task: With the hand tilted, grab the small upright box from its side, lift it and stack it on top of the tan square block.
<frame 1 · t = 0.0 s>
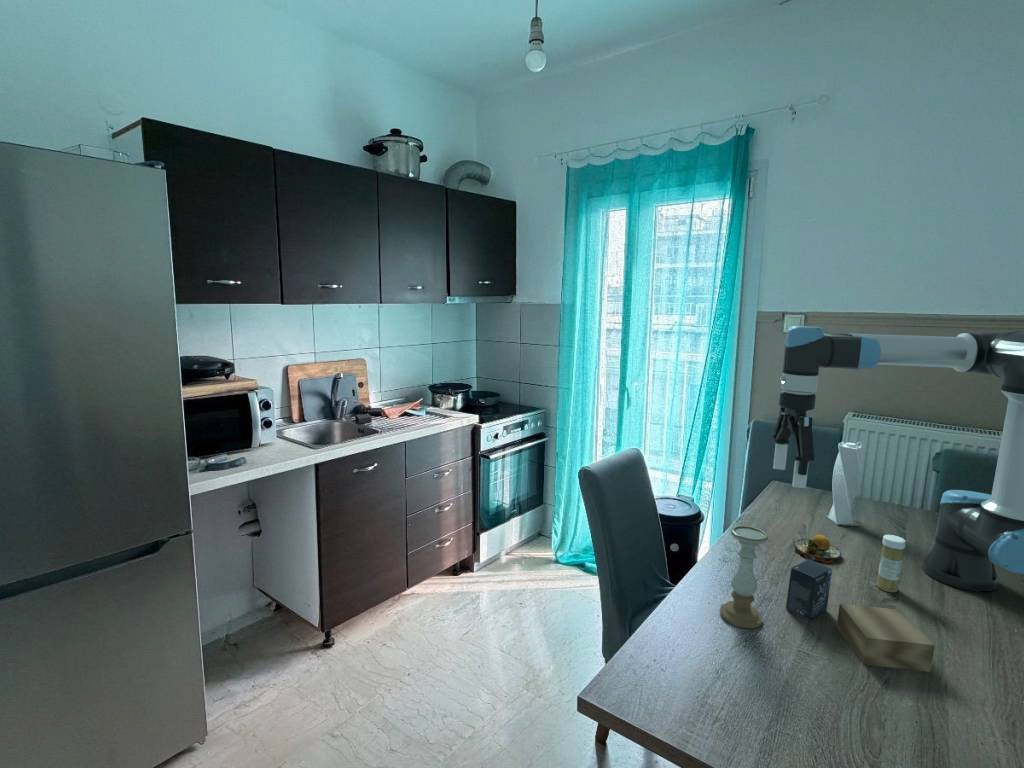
hand: (788, 477, 130), 28 cm above the table, tool pointing down, fingers open, 13 cm apart
candle holder: (740, 618, 120), on the table
sprinkles bottle: (886, 589, 134), on the table
box: (806, 610, 123), on the table
burger: (816, 554, 152), on the table
tan square block: (880, 649, 110), on the table
skyscraper: (841, 522, 174), on the table
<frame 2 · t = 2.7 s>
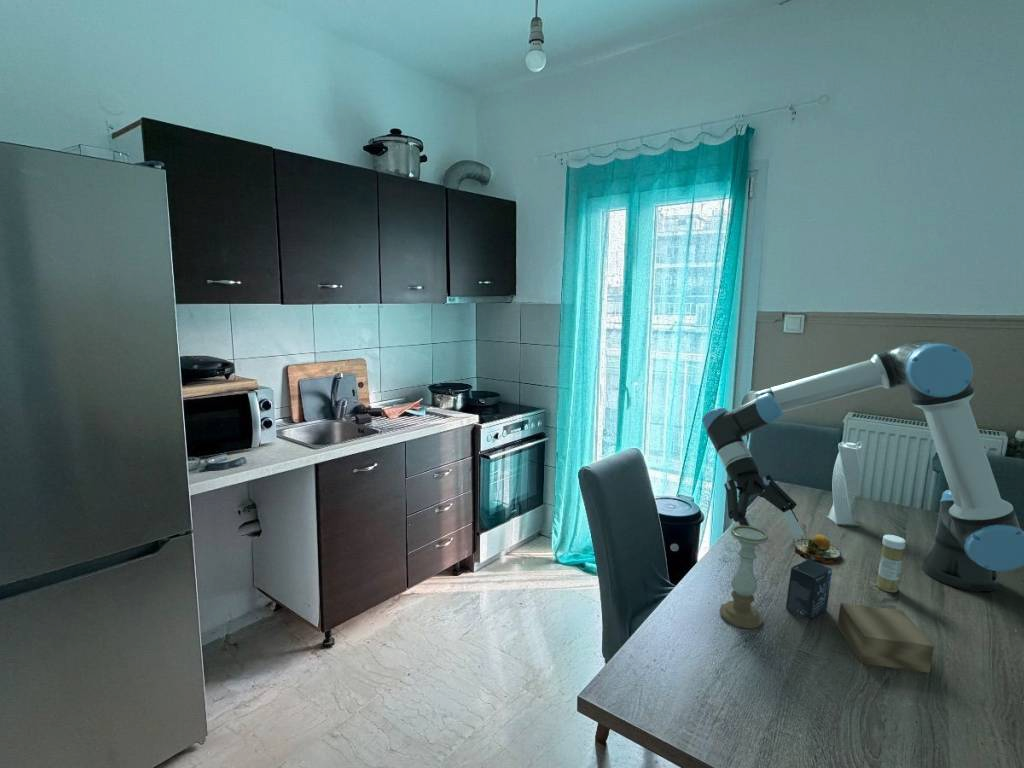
hand: (778, 540, 129), 13 cm above the table, tool tilted 45°, fingers open, 13 cm apart
nothing on the table moved.
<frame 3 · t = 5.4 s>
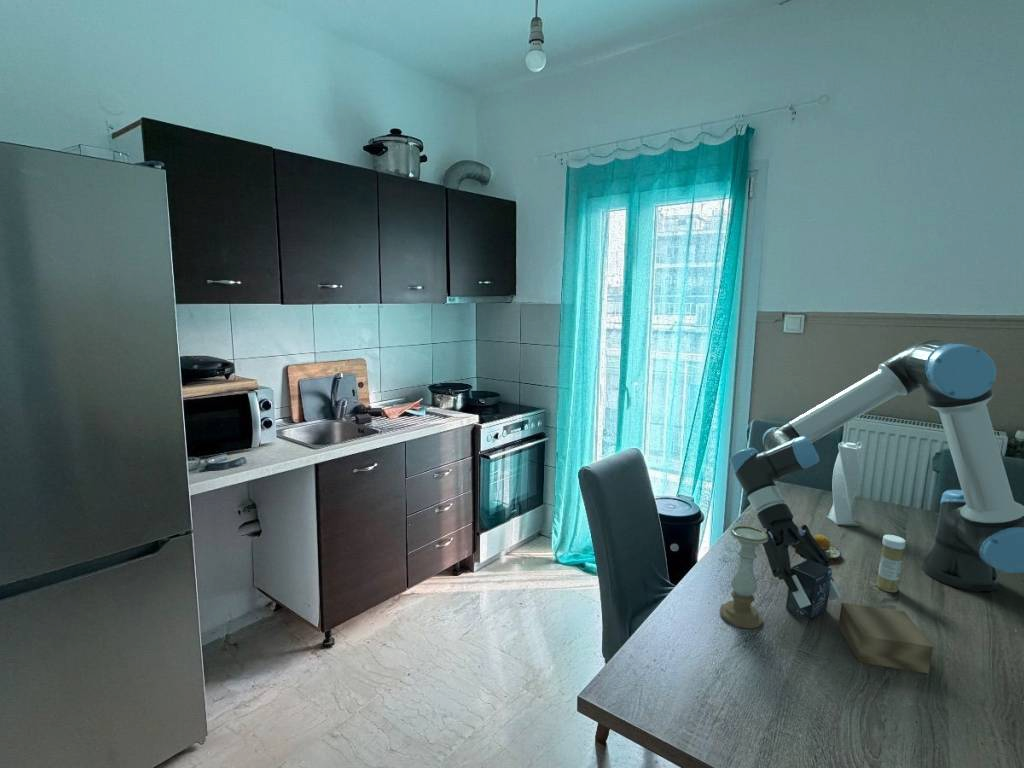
hand: (820, 602, 120), 4 cm above the table, tool tilted 45°, fingers closed on box, 9 cm apart
box: (806, 610, 123), on the table, touching gripper
everything else where it was.
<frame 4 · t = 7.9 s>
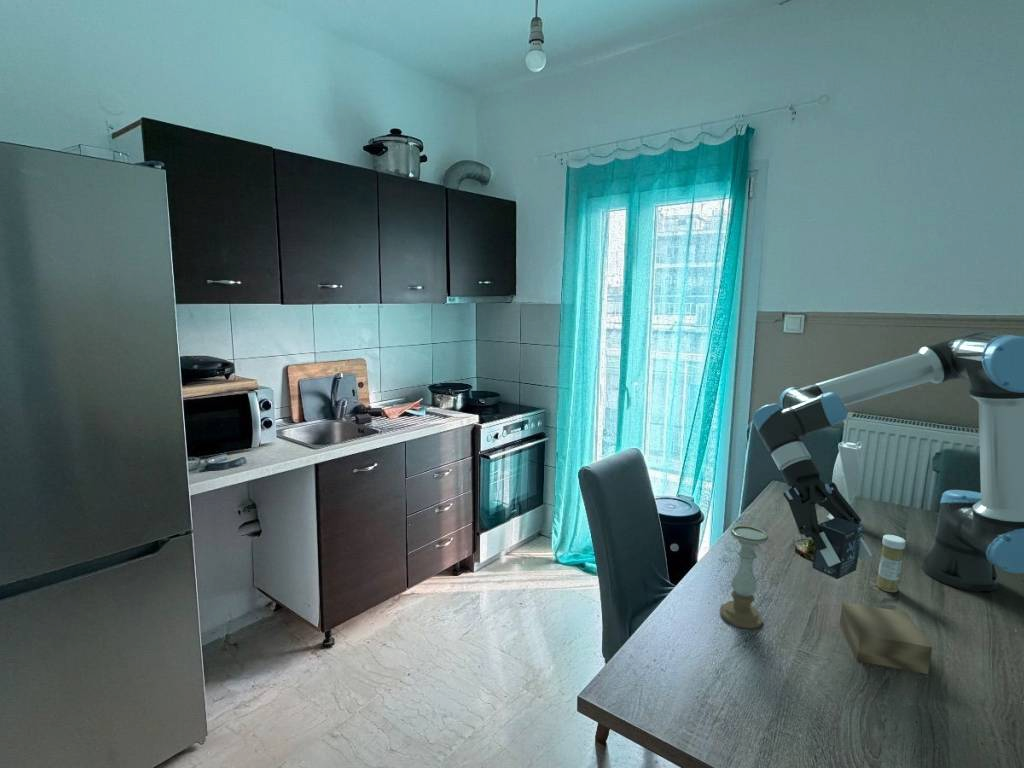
hand: (850, 560, 113), 16 cm above the table, tool tilted 45°, fingers closed on box, 9 cm apart
box: (834, 570, 117), point 12 cm above the table, touching gripper
everything else where it was.
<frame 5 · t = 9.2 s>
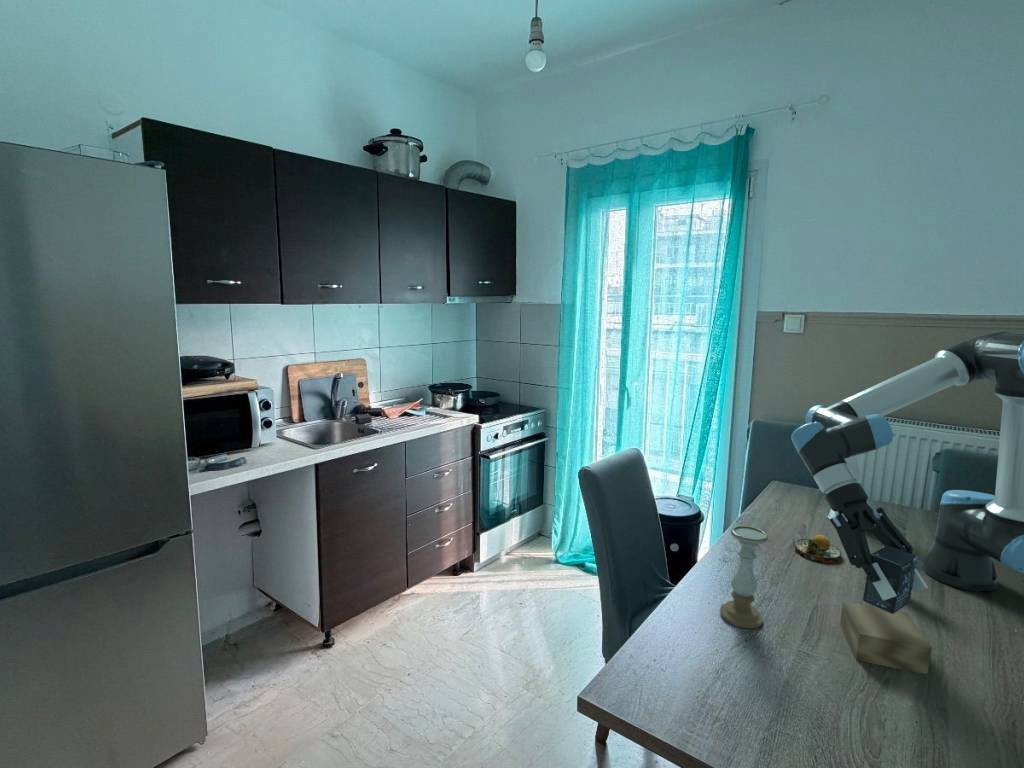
hand: (905, 594, 105), 14 cm above the table, tool tilted 45°, fingers closed on box, 9 cm apart
box: (886, 603, 109), point 10 cm above the table, touching gripper
everything else where it was.
when the fingers open (11 cm above the table, at t = 10.2 s): box drops 2 cm, resting on tan square block.
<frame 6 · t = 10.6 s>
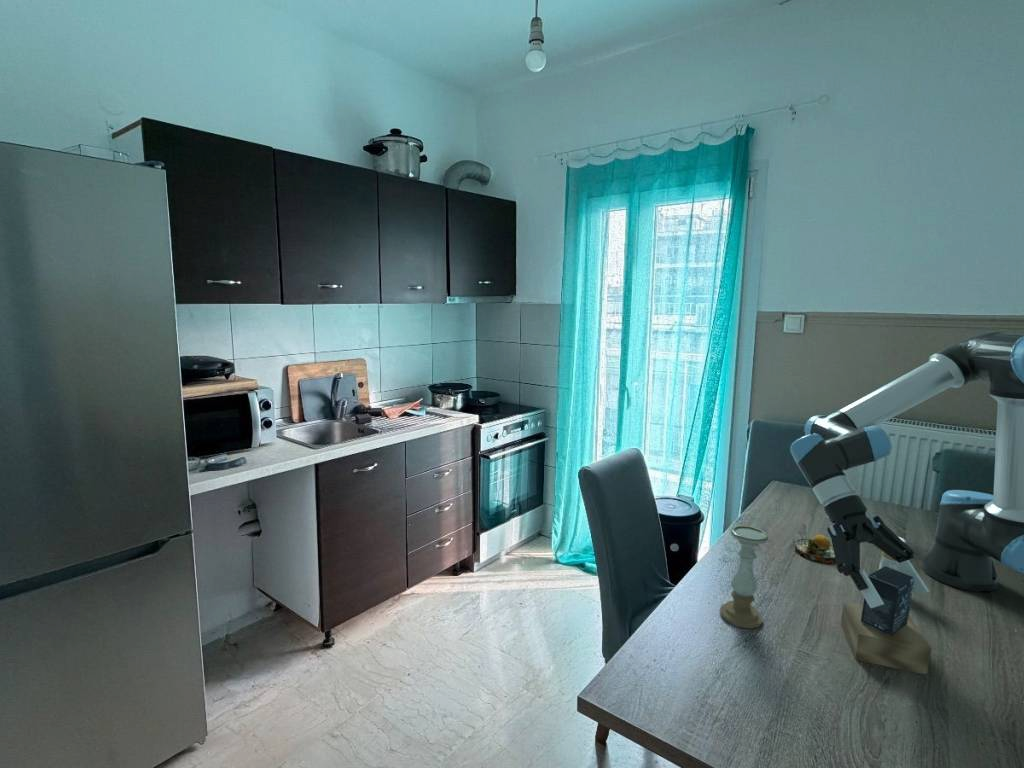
hand: (900, 600, 106), 12 cm above the table, tool tilted 45°, fingers open, 13 cm apart
box: (883, 624, 109), point 5 cm above the table, touching tan square block
tan square block: (880, 650, 110), on the table, touching box
everything else where it was.
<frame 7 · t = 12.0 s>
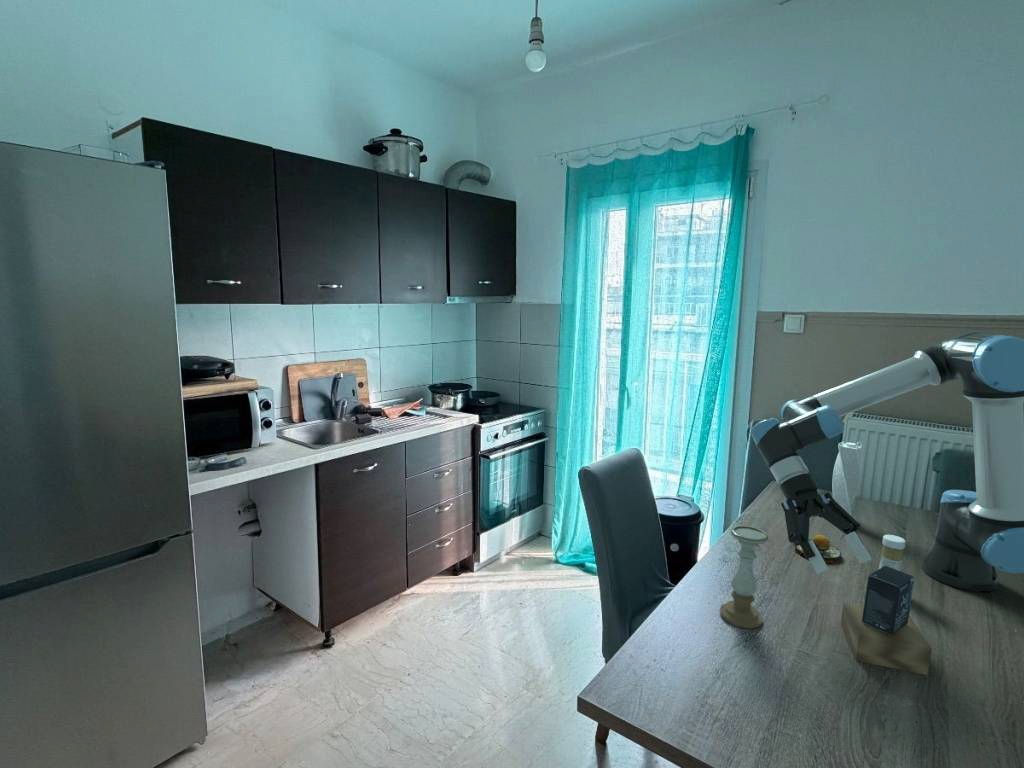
hand: (845, 566, 117), 13 cm above the table, tool tilted 45°, fingers open, 13 cm apart
nothing on the table moved.
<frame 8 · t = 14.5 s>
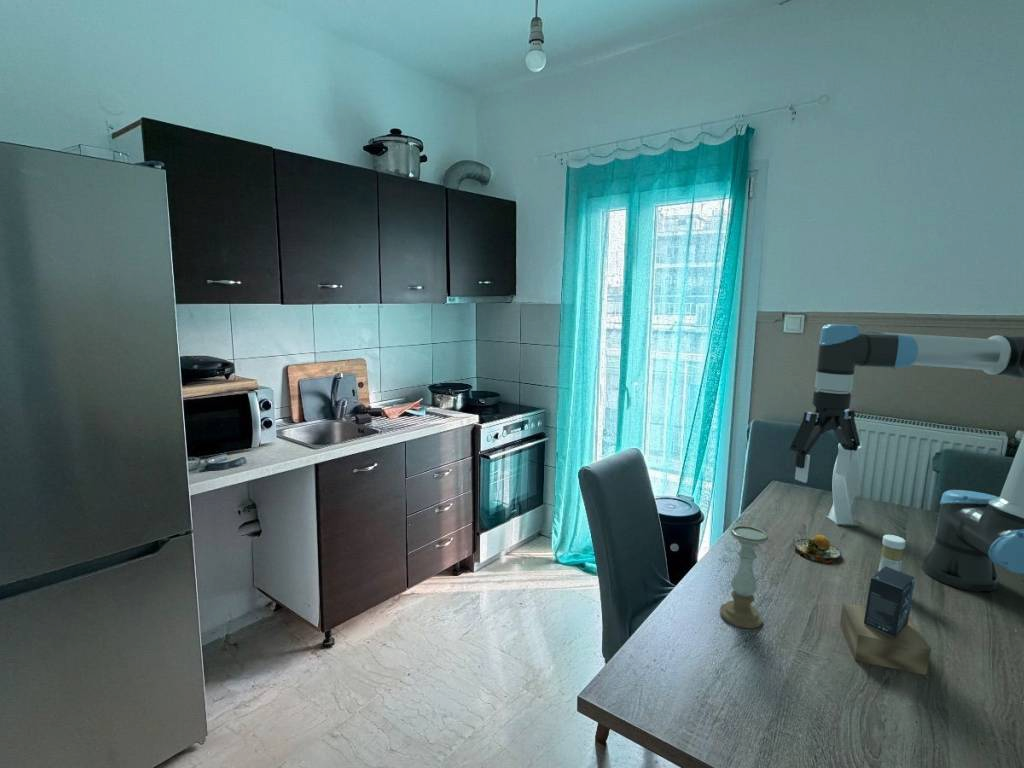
hand: (821, 478, 128), 29 cm above the table, tool pointing down, fingers open, 13 cm apart
nothing on the table moved.
at the end: box inside the target area on the tan square block (0.3 cm from its centre), point 5.8 cm above the tan square block's base; box tilted 0°; the gripper is holding nothing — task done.
